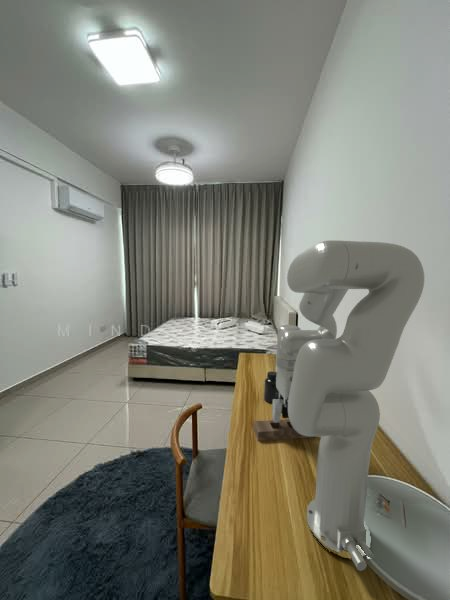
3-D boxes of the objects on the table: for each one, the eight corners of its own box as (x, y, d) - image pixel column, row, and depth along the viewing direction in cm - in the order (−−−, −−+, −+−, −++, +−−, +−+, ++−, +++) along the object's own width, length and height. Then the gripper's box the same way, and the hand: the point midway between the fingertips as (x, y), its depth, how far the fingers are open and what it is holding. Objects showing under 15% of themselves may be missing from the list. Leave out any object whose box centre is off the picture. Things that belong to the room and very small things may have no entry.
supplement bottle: (279, 404, 103) (281, 377, 102) (263, 402, 105) (264, 375, 104) (279, 397, 110) (280, 371, 109) (264, 395, 111) (265, 369, 110)
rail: (307, 426, 89) (308, 418, 88) (315, 437, 83) (316, 428, 82) (253, 429, 86) (253, 421, 86) (257, 440, 80) (258, 431, 80)
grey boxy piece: (293, 417, 86) (294, 398, 85) (297, 422, 83) (298, 402, 82) (271, 418, 85) (272, 399, 84) (274, 423, 82) (275, 403, 81)
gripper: (309, 371, 74) (305, 428, 76) (289, 354, 91) (286, 401, 92) (285, 372, 73) (282, 429, 75) (269, 354, 90) (267, 402, 91)
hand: (284, 413), depth 84 cm, fingers closed on grey boxy piece, 3 cm apart
